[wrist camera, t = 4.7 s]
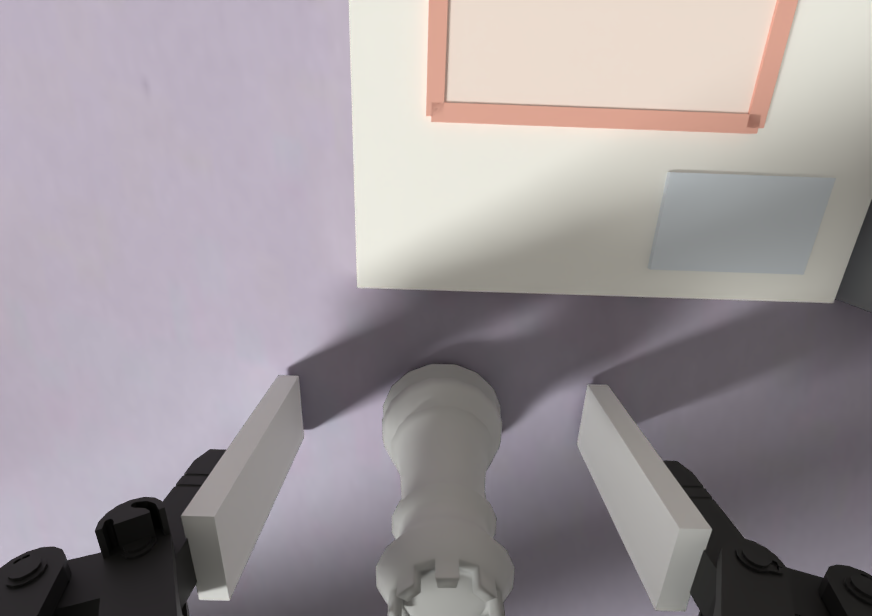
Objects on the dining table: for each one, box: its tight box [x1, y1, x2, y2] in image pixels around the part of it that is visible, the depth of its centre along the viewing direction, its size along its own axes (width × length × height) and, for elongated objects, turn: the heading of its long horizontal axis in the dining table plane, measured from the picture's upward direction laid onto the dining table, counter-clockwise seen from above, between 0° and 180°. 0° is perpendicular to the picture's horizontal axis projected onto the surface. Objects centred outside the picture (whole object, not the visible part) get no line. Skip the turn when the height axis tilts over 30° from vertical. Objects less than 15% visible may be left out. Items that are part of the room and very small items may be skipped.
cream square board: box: [349, 0, 872, 303], centre depth 12 cm, size 16×16×1 cm
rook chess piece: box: [376, 364, 515, 616], centre depth 13 cm, size 4×4×8 cm
